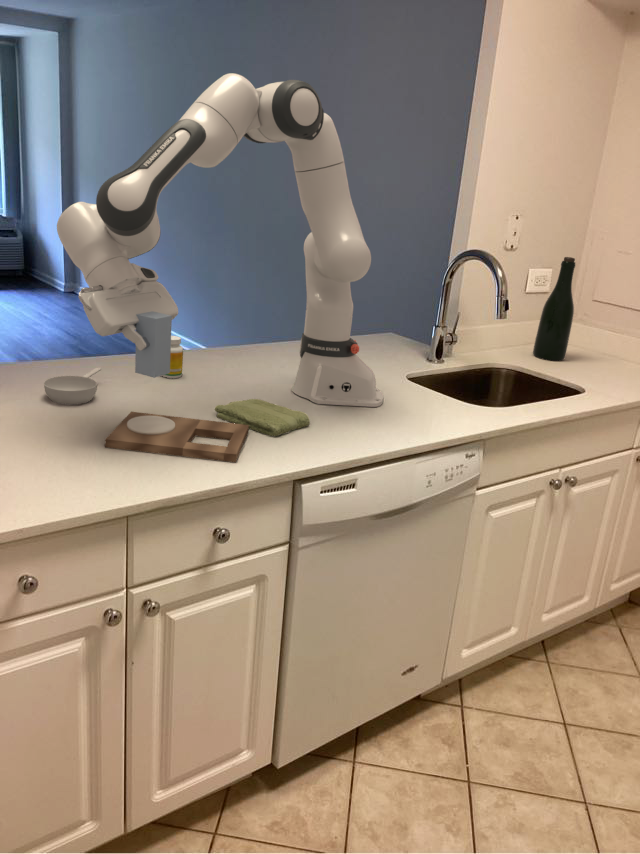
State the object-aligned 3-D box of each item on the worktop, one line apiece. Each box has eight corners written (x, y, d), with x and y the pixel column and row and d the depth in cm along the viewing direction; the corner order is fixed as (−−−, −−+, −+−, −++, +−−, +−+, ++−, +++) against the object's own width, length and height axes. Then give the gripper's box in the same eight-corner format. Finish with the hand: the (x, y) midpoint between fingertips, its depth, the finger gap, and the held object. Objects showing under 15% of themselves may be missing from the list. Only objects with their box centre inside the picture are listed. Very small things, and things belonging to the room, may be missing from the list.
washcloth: (251, 405, 165) (252, 392, 164) (312, 427, 155) (314, 413, 154) (209, 417, 154) (210, 402, 153) (272, 441, 145) (274, 426, 144)
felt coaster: (179, 421, 144) (179, 418, 144) (168, 437, 136) (168, 434, 136) (135, 416, 144) (135, 413, 144) (120, 431, 136) (120, 428, 136)
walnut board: (248, 432, 147) (249, 425, 146) (235, 462, 132) (236, 454, 131) (131, 418, 147) (131, 411, 147) (105, 447, 132) (105, 439, 132)
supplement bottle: (155, 373, 179) (157, 335, 175) (175, 371, 182) (176, 334, 179) (166, 379, 175) (167, 340, 172) (186, 377, 178) (187, 339, 175)
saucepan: (33, 401, 151) (33, 384, 150) (77, 380, 168) (77, 364, 167) (81, 409, 150) (81, 392, 148) (121, 387, 166) (121, 371, 165)
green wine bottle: (563, 363, 236) (586, 260, 225) (530, 357, 240) (551, 256, 228) (565, 357, 246) (587, 258, 235) (533, 351, 249) (554, 253, 238)
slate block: (150, 368, 139) (152, 311, 136) (169, 373, 137) (171, 315, 134) (135, 372, 135) (136, 314, 132) (154, 377, 134) (155, 318, 130)
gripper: (83, 278, 124) (127, 345, 124) (160, 269, 142) (199, 328, 141) (64, 299, 128) (107, 364, 127) (142, 288, 145) (179, 346, 145)
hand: (156, 345), depth 134 cm, fingers closed on slate block, 4 cm apart
